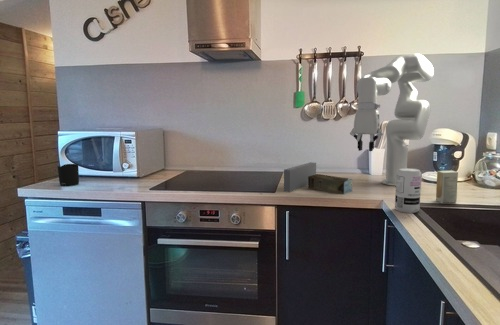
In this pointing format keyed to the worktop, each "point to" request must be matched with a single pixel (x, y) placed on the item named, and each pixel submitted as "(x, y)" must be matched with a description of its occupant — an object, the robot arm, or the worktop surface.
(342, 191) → the beverage carton
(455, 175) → the skincare box
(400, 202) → the supplement can
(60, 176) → the pen holder
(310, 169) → the board
